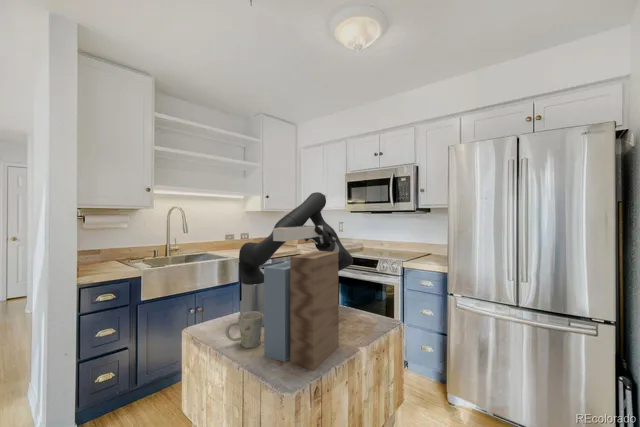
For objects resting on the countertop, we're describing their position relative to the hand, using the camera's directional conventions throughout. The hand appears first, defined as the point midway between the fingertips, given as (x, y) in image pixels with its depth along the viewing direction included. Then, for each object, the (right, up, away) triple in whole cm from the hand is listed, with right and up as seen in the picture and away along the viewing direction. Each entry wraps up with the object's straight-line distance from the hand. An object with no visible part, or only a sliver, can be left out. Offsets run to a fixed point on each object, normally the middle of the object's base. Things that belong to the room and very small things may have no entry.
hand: (310, 227), depth 110 cm
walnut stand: (+3, -40, -17) cm, 43 cm away
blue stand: (-6, -40, -12) cm, 42 cm away
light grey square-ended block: (-3, -3, -6) cm, 8 cm away
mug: (-22, -40, -10) cm, 47 cm away
